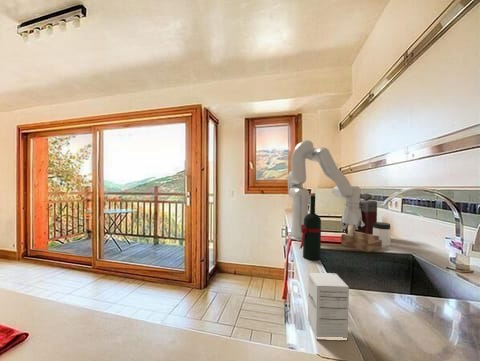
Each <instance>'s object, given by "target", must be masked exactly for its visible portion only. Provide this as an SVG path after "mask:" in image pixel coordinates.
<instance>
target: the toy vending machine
mask: <svg viewBox="0 0 480 361" xmlns="http://www.w3.org/2000/svg"><path fill="white" fill-rule="evenodd" d="M361 197H362V198H361V199H360V209H361V213H362V221H363V223H364V224H365V226H363V227H362V228H361V229H359V232H361V233H366V234H371V235H373V227H374V222H378V201H377V200H370V199H371V195H370V194H369V193H368V192H367V193H363V194H362V195H361ZM360 225H361V224H359V226H360Z"/></svg>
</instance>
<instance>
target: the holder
mask: <svg viewBox="0 0 480 361" xmlns="http://www.w3.org/2000/svg"><path fill="white" fill-rule="evenodd" d="M340 236H341V240H340V241H341V243H340V245H341V246H345V247H349V248H351V249H356V250H360V251H364V252H367V253H371V252H374V251H378V250H379V249H381V248H382V247H383V246H382V240H379V236H376V235H371V234H366V233H361V232H356V231H353V236H350V235H348V234H346V233H342V234H341V235H340Z"/></svg>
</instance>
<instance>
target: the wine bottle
mask: <svg viewBox="0 0 480 361" xmlns="http://www.w3.org/2000/svg"><path fill="white" fill-rule="evenodd" d="M309 196H310V197H309V212H308V215H306V216H305V218H304V225H301V232H302V241H300V242H301V244H300V246H299V249H300V250H302V258H303V259H304V260H307V261H312V262H317V261H320V260H321V255H322V254H321V250H322V249H321V248H322V240H321V238H322V219H321V217H320V216H319V215H318V214H316V193H311V192H309Z"/></svg>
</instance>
